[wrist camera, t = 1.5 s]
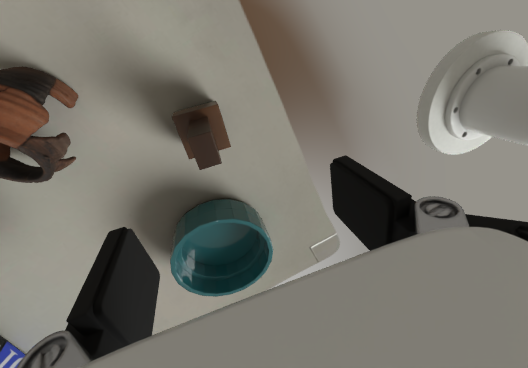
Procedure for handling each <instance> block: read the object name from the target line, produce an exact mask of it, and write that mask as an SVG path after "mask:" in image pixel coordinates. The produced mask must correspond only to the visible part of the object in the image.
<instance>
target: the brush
mask: <svg viewBox="0 0 528 368" xmlns="http://www.w3.org/2000/svg"><path fill="white" fill-rule="evenodd" d="M172 119H173V121H174V124H175V126H176V129H177V131H178V133H179V136H180V138H181V141H182V143H183V146H184V148H185V150H186V153H187V155H188V158H189V159H192V158H195V159H196V162H197V164H198V167H199V169H200V170H202V169H205V168H208V167H211V166H215V165H218V164H221V163H222V162H221V158H220V155H219V150H222V149H225V148H229V147H231V145H230V142H229V139H228V135H227V132H226V129H225V126H224V122H223V119H222V116H221V113H220V109H219V106H218V104H217V102H216V101H212V102H208V103H204V104H201V105H197V106H194V107H190V108H186V109H183V110H179V111H176V112H174V113H173V115H172Z"/></svg>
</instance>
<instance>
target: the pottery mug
mask: <svg viewBox="0 0 528 368" xmlns="http://www.w3.org/2000/svg"><path fill="white" fill-rule="evenodd" d="M47 95H51V96H52V97H54V98H56V99H57V100H59V101H60V102H61V103H63V104H64V105H65V106H67V107H68V108H72V107H74V105H75V102H76V101H77V99H78V95H77V93H75V92H74V90H73V89H71V88H70V87H69V86H67V85H66V84H65V83H63V82H61V81H60V80H58V79H56V78H55V77H53V76H51V75H49V74H47V73H45V72H43V71H40V70H36V69H33V68H28V67H13V68H8V69H2V70H0V178H3V179H7V180H11V181H17V182H25V183H32V182H35V183H38V182H43V181H48V180H49V179H51V178H52V176H53V174H54V172H56V171H60V170H62V169H64V168H65V167H67V166H68V165H70V164H71V163H72V162H74V161H75V160H76V157H70V158H68V159H61V158H63V157H64V155H65V154H66V152H67V148H68V146H69V145H70V144H71V142H70V139H69V137H68V135H67V134H66V133H61V134H59V135H57V136H56V137H35V136H31V135H32V134H33V133H35V132H36V131H37V130H38V129H39V128H41V127H42V126H43V125H45V124H46V123H48V121H49V120H48V119H49V113H48V111H47V110H46V109H45V108H44V107H43V106H42V105H43V104H44V103H45V99H46V97H47ZM10 147H13V148H16V149H18V150H20V151H21V152H23V153H24V154H26V155H28V156H29V157H31V158H32V159H34V160H35V161H36V162H37V163H38V164H39V165H40V166H41V167H34V166H29V165H26V164H24V163H22V162H20V161H18V160H15V159H13V158H11V157H10Z"/></svg>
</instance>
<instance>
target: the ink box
mask: <svg viewBox="0 0 528 368" xmlns="http://www.w3.org/2000/svg"><path fill="white" fill-rule="evenodd" d="M24 356H25V354H24V353H23V352H21V351H20V350H19V349H17V348H16V347H15V346H13V345H12V344H11V343H9V342H8V341H7V340H5V339H4V338H2V337H1V336H0V368H16V367H17V366H18V364H19V363H20V361H21V360H22V359H23V357H24Z"/></svg>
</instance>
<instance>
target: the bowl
mask: <svg viewBox="0 0 528 368" xmlns="http://www.w3.org/2000/svg"><path fill="white" fill-rule="evenodd" d="M272 254H273V247H272V243H271V240H270V237H269V235H268V232H267V230H266V227H265V225H264V223H263V220H262V218H261V217H260V216H259V214H258V213H257V212H256V211H255V209H253V208H252V207H250V206H248V205H247V204H245V203H243V202H239V201H235V200H231V199H222V200H212V201H209V202H206V203H203V204H200V205H198V206H196V207H195V208H193V209H192V210H190V211H189V212H187V213H186V214H185V215H184V216H183V218H182V219H181V220H180V221H179V223H178V224H177V226H176V229H175V232H174V235H173V242H172V250H171V258H170V264H171V273H172V275H173V276H174V278H175V279H176V281H177V283H178V284H179V285H181V286H182V287H183V288H185V289H186V290H188V291H189V292H192V293H195V294H198V295H202V296H223V295H230V294H233V293H236V292H238V291H241V290H244V289H246V288H247V287H249V286H250V285H252V284H253V283H255V282H256V281H257V280H258V279H259V278H260V277H261V276H262V275H263V274H264V273H265V272H266V270H267V269H268V267H269V265H270V263H271V261H272Z"/></svg>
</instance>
